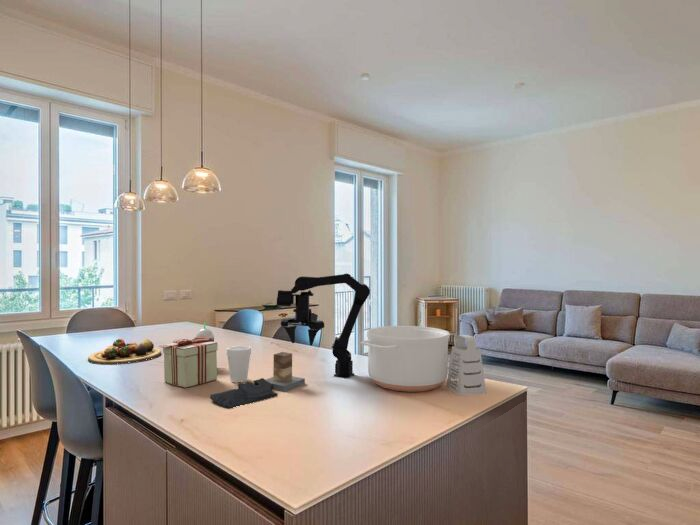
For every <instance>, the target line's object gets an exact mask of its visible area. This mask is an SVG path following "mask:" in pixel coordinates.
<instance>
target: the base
mask: <svg viewBox="0 0 700 525" xmlns="http://www.w3.org/2000/svg"><path fill="white" fill-rule="evenodd" d="M265 380H266V381H267V382H269V383H271V384H272V385H273V389H272V390H274V389H275V391H280V392H284V393H285V392H287V391H290V390H293V389H295V388H297V387H300V386H303V385H305V384H306V379H305V378H304V377H298V376H293V375H292V380H289V381H286V382H279V381H273V376H271V377H269V378H266V379H265Z"/></svg>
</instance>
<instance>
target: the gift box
mask: <svg viewBox="0 0 700 525" xmlns="http://www.w3.org/2000/svg"><path fill="white" fill-rule="evenodd" d="M210 341H211V340H210V339H208V338H207V337H206V336H198V337H196V338H195V337H194V338H193V339H188V338H180V339H175V340H173V341H172V343H168V344H163V345H159V346H158V347H159V348H161V349H162V353H163V362H164V364H163V365H164V370H163V372H164V376H163V377H164V379H163V380H164V383H165V382H167V383H166V384H169V383H170V384H169V385H172V384H173V386H177V387H181V388H184V389H186V388H191V387H195V386H198V385H202V384H206V383H209V382H213V381H216V380H217V379H218V367H217V366H218V365H217V364H218V361H217V360H218V359H217V351H218V350H219V349H218V348H219V347H218V342H215V341H214V342H210Z"/></svg>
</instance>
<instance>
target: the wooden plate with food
mask: <svg viewBox="0 0 700 525" xmlns="http://www.w3.org/2000/svg"><path fill="white" fill-rule="evenodd" d="M161 354H162V351H161V349H159V348H158V347H155V345H154V343H153V342H152V341H151V340H150V339H148V338H146V339H144V340H143V341H142V342H141V343H139V344H138V343H136V342H130V343H126V342H125V340H124V339H122V338H118V339H116V340H115V341H113V343H112V345H109V346H107V347H105V349H104V350H100V351H96V352H94V353H91V354H90V355H89V356H88V358H87V360H88V361H90V362H89V363H91V362H92V363H91V364H95V363H100V364H99V365H118V364H117V363H127V364H129V363H128V362H135V363H137V362H136V361H141V362H143V361H142V360H146V359H150V360H152V359H151V358H154V357H156V358H158V357H159V356H161ZM157 356H158V357H157ZM154 359H155V358H154ZM146 361H147V360H146Z"/></svg>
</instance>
